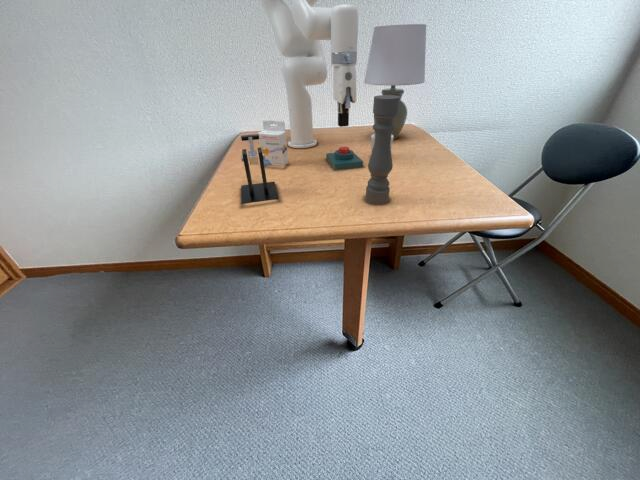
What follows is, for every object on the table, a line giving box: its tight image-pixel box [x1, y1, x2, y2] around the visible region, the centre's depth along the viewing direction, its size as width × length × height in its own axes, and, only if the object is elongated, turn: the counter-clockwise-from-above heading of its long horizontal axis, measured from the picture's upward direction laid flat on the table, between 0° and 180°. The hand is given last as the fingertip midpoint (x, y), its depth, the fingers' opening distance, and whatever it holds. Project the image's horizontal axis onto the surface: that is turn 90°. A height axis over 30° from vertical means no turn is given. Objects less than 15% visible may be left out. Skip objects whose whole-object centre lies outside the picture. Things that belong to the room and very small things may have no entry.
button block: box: [325, 149, 364, 171], centre depth 98 cm, size 12×10×4 cm
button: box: [338, 146, 350, 154], centre depth 96 cm, size 4×4×2 cm
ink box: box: [257, 120, 289, 167], centre depth 95 cm, size 8×5×15 cm, turn 72°
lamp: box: [363, 23, 427, 140], centre depth 113 cm, size 24×24×40 cm
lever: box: [240, 133, 259, 166], centre depth 76 cm, size 12×5×2 cm, turn 13°
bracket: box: [240, 147, 280, 205], centre depth 76 cm, size 12×10×13 cm
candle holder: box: [365, 94, 400, 206], centre depth 68 cm, size 6×6×25 cm
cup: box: [370, 133, 394, 154], centre depth 99 cm, size 11×8×8 cm
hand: (343, 125), depth 91 cm, fingers closed
